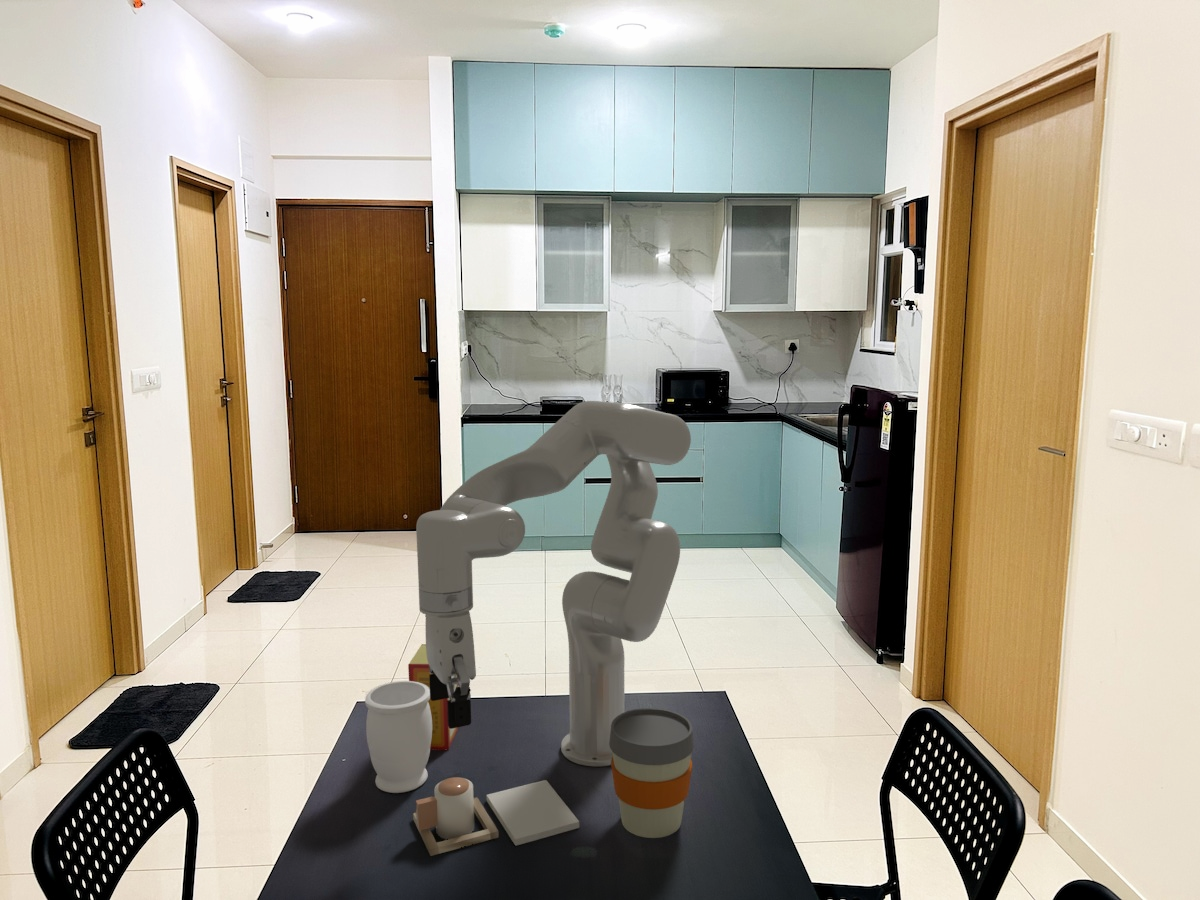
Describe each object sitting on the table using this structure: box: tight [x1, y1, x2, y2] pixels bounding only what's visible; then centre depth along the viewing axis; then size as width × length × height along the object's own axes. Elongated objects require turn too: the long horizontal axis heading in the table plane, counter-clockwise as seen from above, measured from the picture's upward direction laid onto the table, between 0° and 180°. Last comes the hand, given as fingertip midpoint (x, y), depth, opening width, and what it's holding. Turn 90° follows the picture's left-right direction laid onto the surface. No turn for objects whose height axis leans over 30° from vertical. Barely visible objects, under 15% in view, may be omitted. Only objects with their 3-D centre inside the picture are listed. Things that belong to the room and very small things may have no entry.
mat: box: [486, 779, 580, 846], centre depth 131 cm, size 10×13×1 cm
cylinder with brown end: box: [415, 776, 475, 840], centre depth 127 cm, size 8×6×7 cm
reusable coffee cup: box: [609, 707, 695, 839], centre depth 128 cm, size 13×12×15 cm
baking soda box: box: [407, 643, 460, 751], centre depth 154 cm, size 10×6×16 cm
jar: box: [364, 680, 432, 794], centre depth 140 cm, size 11×10×15 cm
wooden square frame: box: [412, 797, 499, 857], centre depth 128 cm, size 10×10×1 cm
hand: (450, 711), depth 125 cm, fingers open, 9 cm apart
